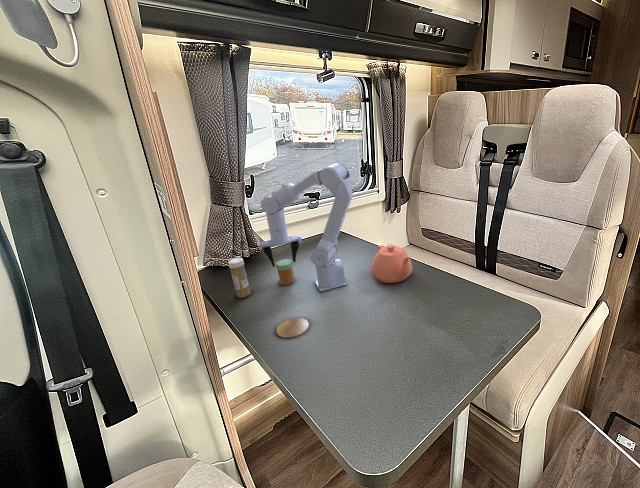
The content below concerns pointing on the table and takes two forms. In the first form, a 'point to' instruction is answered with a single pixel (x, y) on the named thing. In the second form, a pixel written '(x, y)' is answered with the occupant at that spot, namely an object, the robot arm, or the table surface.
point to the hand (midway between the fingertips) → (284, 263)
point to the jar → (286, 276)
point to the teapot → (391, 264)
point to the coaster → (292, 327)
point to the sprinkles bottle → (239, 277)
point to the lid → (284, 264)
